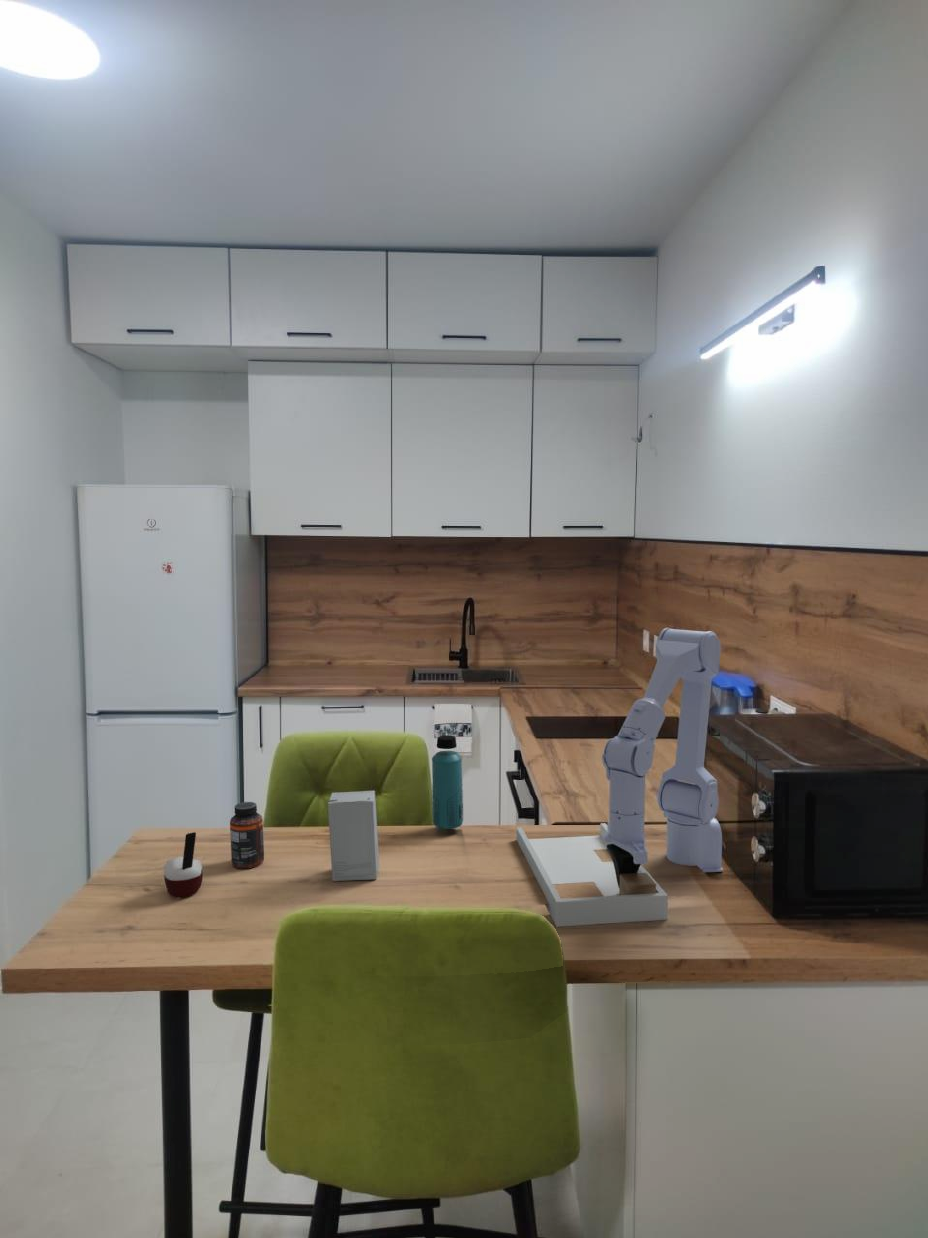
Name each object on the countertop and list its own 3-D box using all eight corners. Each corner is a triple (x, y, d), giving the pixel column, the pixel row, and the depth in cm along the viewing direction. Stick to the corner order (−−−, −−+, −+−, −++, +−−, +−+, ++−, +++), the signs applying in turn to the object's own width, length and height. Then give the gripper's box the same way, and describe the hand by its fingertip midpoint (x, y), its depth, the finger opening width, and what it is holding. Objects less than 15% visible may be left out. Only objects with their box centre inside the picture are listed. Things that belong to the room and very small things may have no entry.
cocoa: (167, 888, 140) (162, 821, 139) (205, 882, 141) (200, 816, 141) (162, 909, 130) (157, 838, 130) (202, 903, 132) (197, 832, 131)
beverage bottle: (463, 836, 162) (462, 740, 161) (430, 836, 163) (430, 740, 161) (463, 825, 169) (463, 732, 167) (432, 825, 169) (431, 732, 167)
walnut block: (645, 896, 131) (646, 872, 131) (655, 908, 127) (656, 884, 126) (619, 897, 131) (619, 874, 130) (628, 910, 126) (628, 885, 126)
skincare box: (379, 868, 147) (377, 789, 145) (376, 881, 141) (375, 800, 139) (333, 868, 146) (331, 790, 145) (329, 882, 140) (327, 800, 139)
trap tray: (605, 842, 159) (605, 823, 158) (667, 919, 126) (667, 895, 126) (516, 847, 156) (516, 827, 156) (556, 926, 124) (556, 902, 123)
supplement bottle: (258, 855, 153) (256, 797, 152) (268, 865, 148) (267, 806, 147) (227, 861, 150) (225, 803, 149) (237, 872, 145) (235, 812, 144)
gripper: (590, 796, 138) (590, 872, 139) (617, 826, 123) (616, 910, 125) (630, 795, 138) (629, 870, 140) (660, 824, 124) (659, 907, 125)
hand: (625, 889), depth 132 cm, fingers closed
